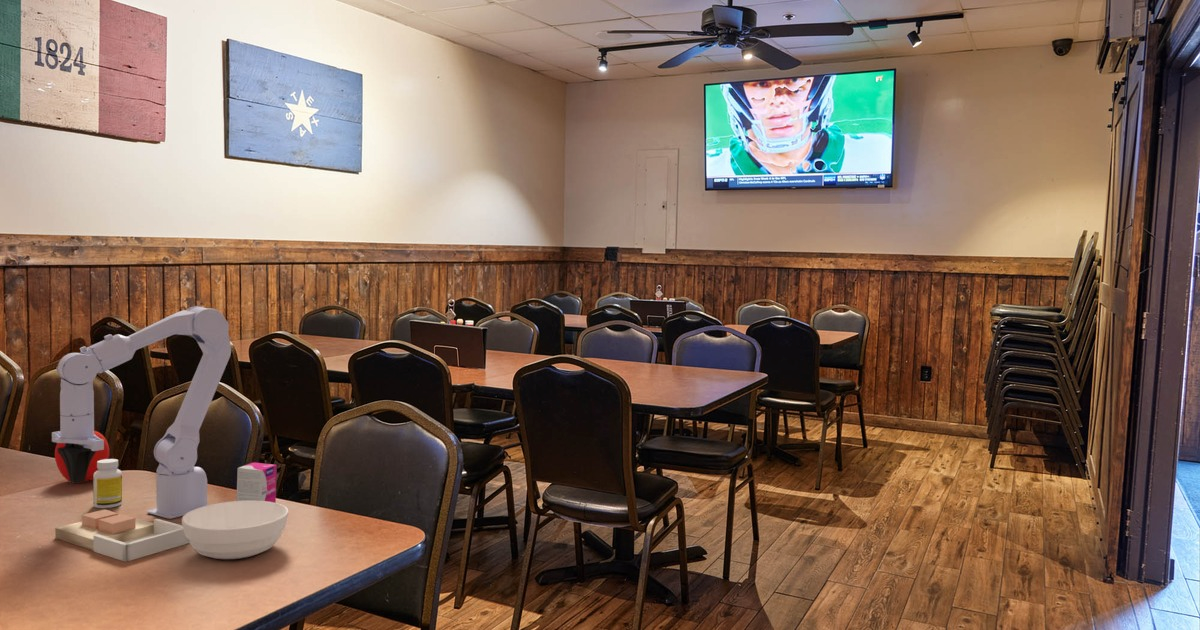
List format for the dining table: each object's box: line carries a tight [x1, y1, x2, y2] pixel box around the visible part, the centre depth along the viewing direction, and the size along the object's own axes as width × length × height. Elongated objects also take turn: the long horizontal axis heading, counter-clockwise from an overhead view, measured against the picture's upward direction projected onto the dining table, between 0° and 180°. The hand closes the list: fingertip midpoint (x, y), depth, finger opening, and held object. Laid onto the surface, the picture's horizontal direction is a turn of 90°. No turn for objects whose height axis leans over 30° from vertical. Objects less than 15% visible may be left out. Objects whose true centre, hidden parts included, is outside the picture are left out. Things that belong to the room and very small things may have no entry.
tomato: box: [54, 430, 110, 484], centre depth 206 cm, size 11×11×13 cm
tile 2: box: [99, 513, 137, 534], centre depth 166 cm, size 4×4×2 cm
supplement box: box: [236, 462, 278, 503], centre depth 181 cm, size 6×6×12 cm
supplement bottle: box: [92, 458, 123, 509], centre depth 188 cm, size 5×5×10 cm
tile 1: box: [81, 508, 119, 529], centre depth 169 cm, size 4×4×2 cm
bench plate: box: [54, 512, 154, 551], centre depth 168 cm, size 12×13×2 cm
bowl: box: [181, 500, 289, 560], centre depth 161 cm, size 18×18×7 cm
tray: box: [93, 518, 190, 563], centre depth 163 cm, size 13×10×3 cm
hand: (77, 481), depth 172 cm, fingers closed
